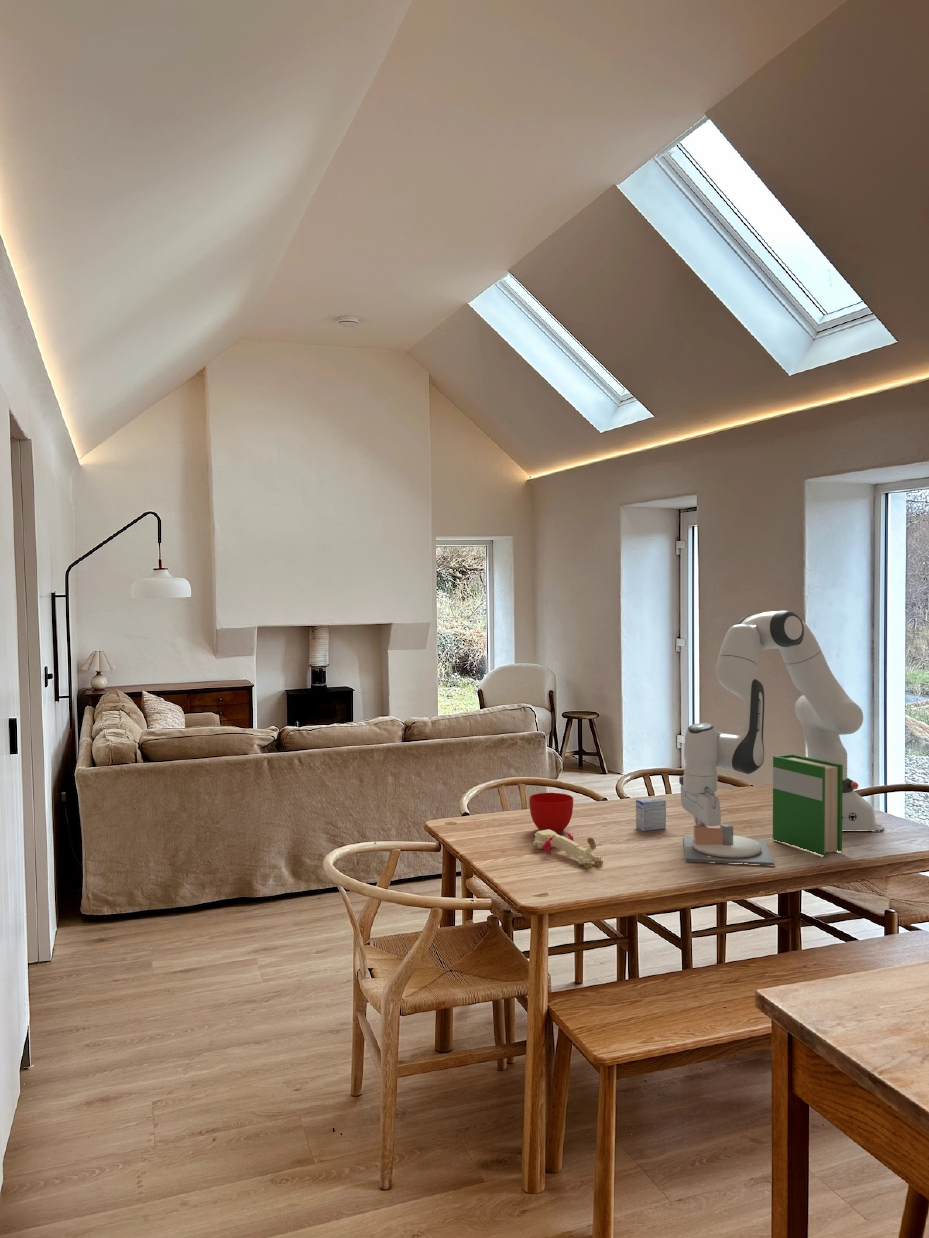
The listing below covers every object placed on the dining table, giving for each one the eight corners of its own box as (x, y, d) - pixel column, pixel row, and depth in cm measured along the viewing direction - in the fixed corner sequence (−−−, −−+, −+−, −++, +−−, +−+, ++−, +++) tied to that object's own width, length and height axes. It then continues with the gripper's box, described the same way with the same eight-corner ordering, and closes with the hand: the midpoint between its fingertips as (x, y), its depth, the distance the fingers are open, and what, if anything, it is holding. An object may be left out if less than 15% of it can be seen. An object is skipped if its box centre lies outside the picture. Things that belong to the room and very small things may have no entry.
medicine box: (657, 825, 276) (657, 796, 275) (666, 828, 272) (666, 799, 271) (635, 828, 273) (635, 799, 272) (643, 831, 269) (643, 802, 268)
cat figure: (608, 869, 238) (551, 839, 259) (610, 837, 237) (552, 809, 258) (578, 876, 233) (522, 844, 254) (580, 843, 232) (523, 814, 253)
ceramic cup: (572, 822, 280) (572, 789, 280) (573, 837, 263) (573, 803, 263) (530, 821, 281) (530, 789, 281) (528, 836, 264) (528, 802, 264)
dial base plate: (763, 842, 256) (763, 838, 256) (774, 866, 235) (774, 861, 235) (683, 838, 261) (683, 834, 261) (686, 862, 239) (686, 857, 239)
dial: (751, 838, 256) (751, 817, 256) (769, 857, 238) (769, 835, 238) (686, 838, 257) (686, 817, 257) (699, 857, 239) (699, 834, 239)
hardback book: (841, 853, 246) (842, 764, 245) (821, 857, 243) (822, 767, 242) (792, 837, 262) (792, 753, 261) (772, 840, 258) (773, 756, 258)
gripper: (727, 792, 240) (726, 844, 241) (698, 775, 260) (698, 823, 261) (703, 792, 239) (703, 845, 240) (676, 775, 260) (676, 824, 260)
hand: (700, 833), depth 251 cm, fingers closed
